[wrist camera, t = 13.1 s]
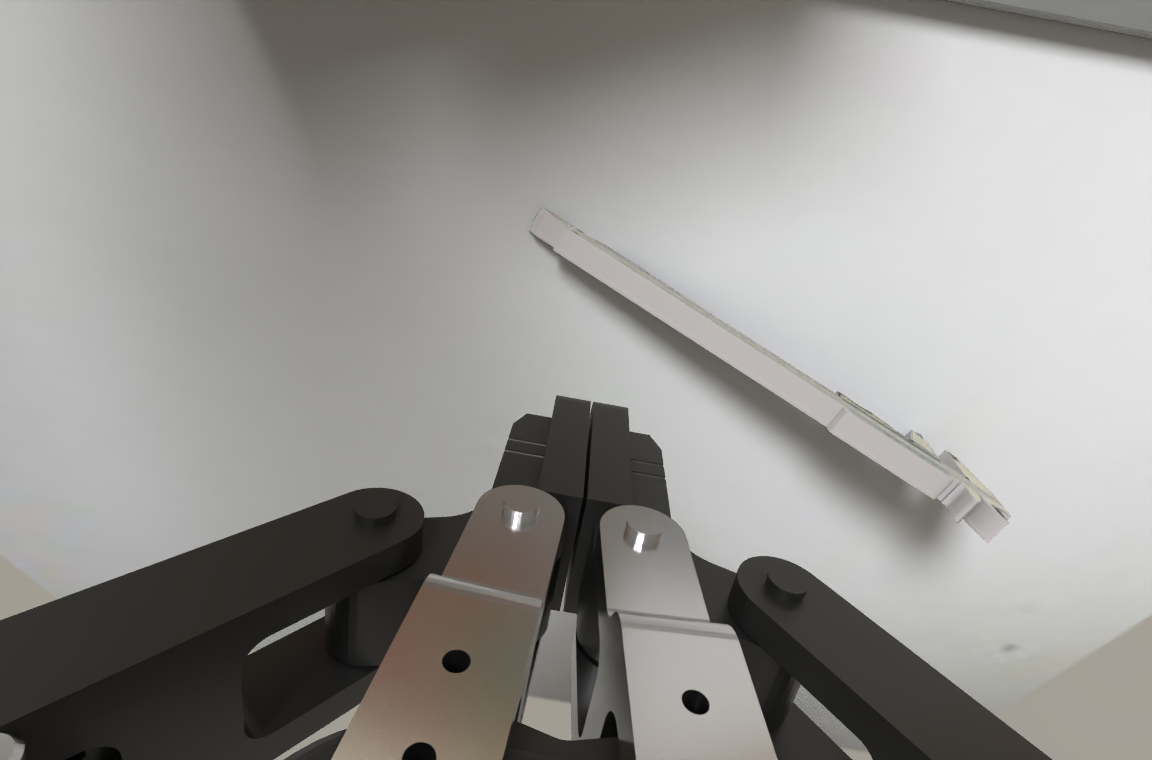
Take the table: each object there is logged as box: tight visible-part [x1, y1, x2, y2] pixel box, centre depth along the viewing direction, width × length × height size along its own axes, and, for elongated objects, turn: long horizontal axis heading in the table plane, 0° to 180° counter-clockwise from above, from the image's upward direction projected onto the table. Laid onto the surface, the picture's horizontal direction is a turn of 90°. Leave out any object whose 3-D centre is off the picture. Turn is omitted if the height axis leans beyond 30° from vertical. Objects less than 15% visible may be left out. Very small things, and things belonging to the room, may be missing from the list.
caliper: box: [529, 208, 1011, 543], centre depth 23 cm, size 20×1×6 cm, turn 60°
